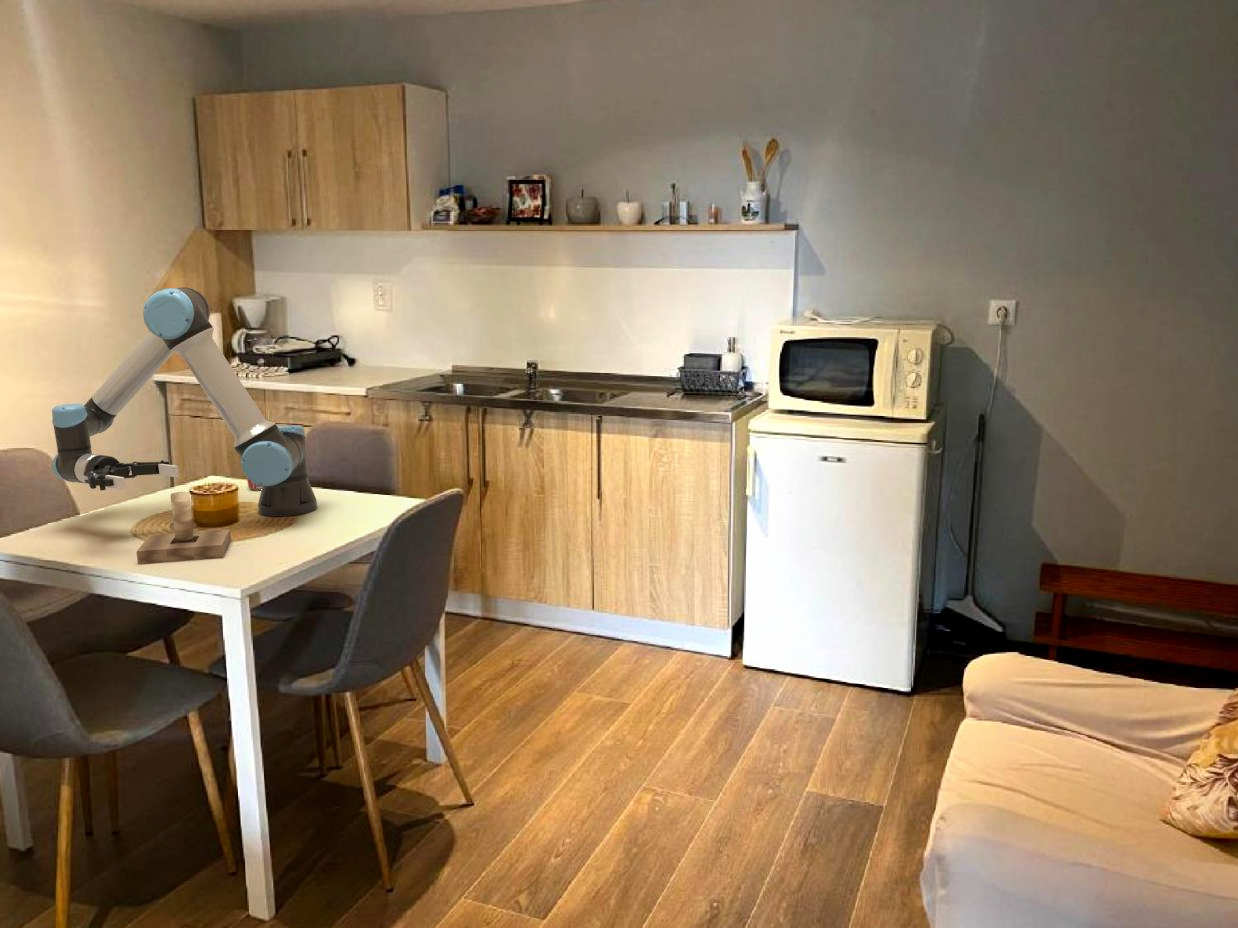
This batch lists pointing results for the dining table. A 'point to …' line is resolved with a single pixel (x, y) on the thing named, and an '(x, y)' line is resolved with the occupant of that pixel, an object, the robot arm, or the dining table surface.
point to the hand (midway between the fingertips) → (150, 477)
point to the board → (184, 547)
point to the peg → (182, 517)
